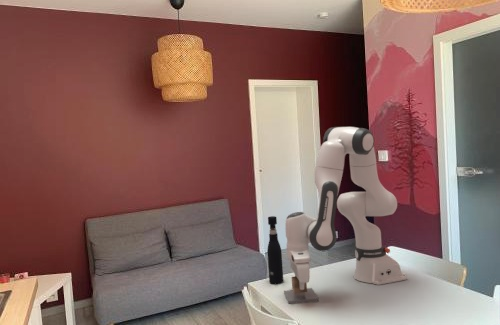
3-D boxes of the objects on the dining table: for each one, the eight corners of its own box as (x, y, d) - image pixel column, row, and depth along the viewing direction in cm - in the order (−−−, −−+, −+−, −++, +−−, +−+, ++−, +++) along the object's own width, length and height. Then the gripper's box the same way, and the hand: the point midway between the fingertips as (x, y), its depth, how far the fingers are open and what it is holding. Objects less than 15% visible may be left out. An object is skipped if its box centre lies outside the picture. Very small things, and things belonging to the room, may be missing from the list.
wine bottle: (283, 279, 176) (279, 215, 175) (283, 284, 170) (279, 218, 169) (269, 279, 177) (265, 216, 176) (269, 284, 171) (264, 218, 170)
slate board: (311, 290, 160) (311, 288, 160) (318, 301, 149) (318, 298, 149) (283, 293, 159) (283, 290, 159) (288, 304, 148) (288, 301, 148)
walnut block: (304, 287, 157) (303, 275, 157) (307, 291, 152) (306, 279, 152) (292, 288, 156) (291, 276, 156) (294, 293, 151) (293, 280, 151)
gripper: (285, 246, 164) (287, 278, 164) (295, 260, 143) (297, 296, 144) (300, 245, 164) (302, 276, 165) (311, 259, 144) (313, 294, 144)
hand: (300, 286), depth 154 cm, fingers closed on walnut block, 5 cm apart
